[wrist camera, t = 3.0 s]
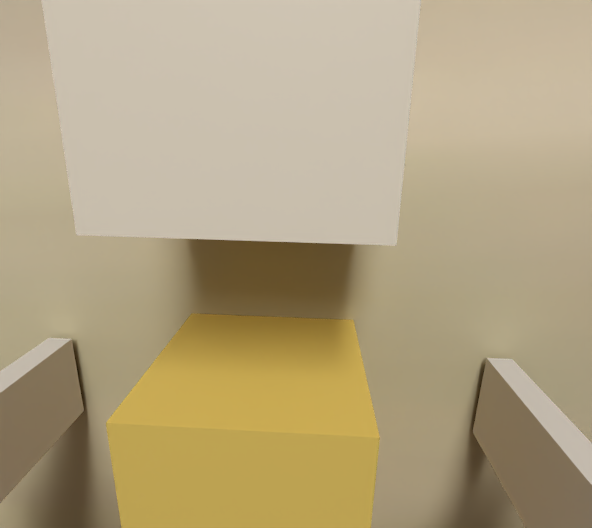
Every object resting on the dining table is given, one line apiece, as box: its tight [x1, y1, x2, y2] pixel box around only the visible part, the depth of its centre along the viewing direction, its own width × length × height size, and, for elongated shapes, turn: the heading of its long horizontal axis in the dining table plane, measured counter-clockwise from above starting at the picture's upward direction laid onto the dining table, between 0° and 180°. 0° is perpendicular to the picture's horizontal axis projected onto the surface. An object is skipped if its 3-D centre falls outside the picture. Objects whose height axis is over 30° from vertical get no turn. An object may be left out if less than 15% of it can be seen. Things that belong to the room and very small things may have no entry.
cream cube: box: [42, 0, 421, 246], centre depth 7 cm, size 5×5×5 cm
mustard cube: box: [106, 314, 380, 528], centre depth 10 cm, size 5×5×5 cm
